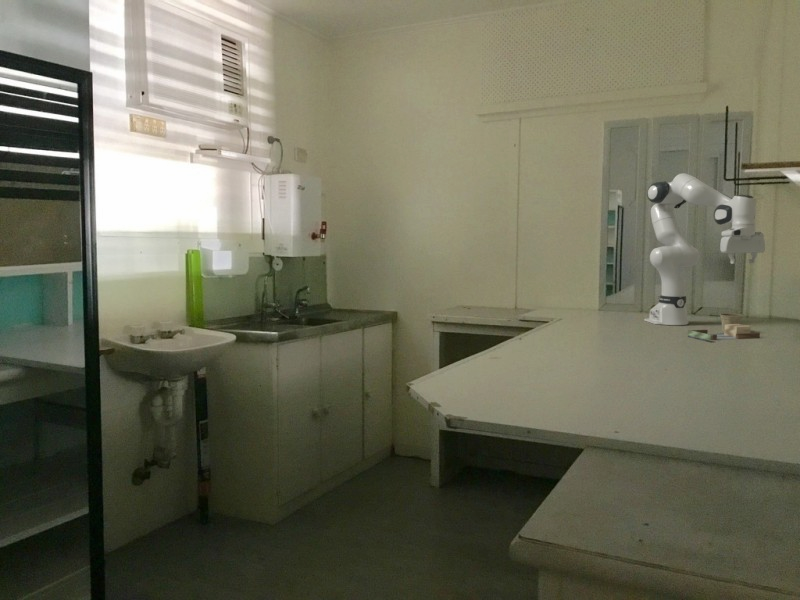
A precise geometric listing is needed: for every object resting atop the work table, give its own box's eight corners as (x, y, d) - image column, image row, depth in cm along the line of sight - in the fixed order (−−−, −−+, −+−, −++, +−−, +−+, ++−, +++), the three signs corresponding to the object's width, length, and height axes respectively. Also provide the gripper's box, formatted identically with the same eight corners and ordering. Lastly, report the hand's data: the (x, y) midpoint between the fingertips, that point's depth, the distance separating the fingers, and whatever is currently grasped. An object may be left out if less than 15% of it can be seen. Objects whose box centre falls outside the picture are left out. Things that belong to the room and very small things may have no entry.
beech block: (724, 334, 271) (724, 324, 271) (738, 334, 273) (738, 323, 272) (736, 337, 264) (736, 326, 264) (750, 336, 266) (750, 326, 265)
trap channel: (687, 337, 271) (688, 330, 271) (734, 335, 276) (735, 328, 276) (710, 342, 258) (710, 335, 257) (759, 340, 263) (759, 333, 262)
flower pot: (746, 335, 276) (747, 316, 275) (724, 335, 276) (725, 316, 275) (735, 332, 285) (736, 313, 284) (714, 332, 285) (715, 313, 284)
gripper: (758, 232, 276) (757, 263, 277) (718, 232, 272) (717, 263, 273) (769, 231, 270) (768, 263, 271) (728, 231, 266) (727, 263, 267)
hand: (742, 263), depth 272 cm, fingers open, 8 cm apart
